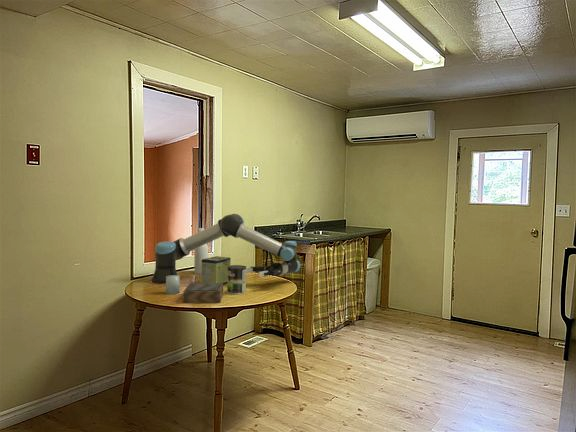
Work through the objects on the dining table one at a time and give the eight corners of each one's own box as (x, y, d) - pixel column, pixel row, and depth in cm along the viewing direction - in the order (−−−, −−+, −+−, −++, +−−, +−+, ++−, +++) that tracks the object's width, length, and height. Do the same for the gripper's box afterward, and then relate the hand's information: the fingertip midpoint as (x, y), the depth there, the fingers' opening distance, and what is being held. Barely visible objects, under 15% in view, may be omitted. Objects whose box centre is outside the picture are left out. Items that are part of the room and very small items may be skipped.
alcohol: (195, 272, 290) (195, 227, 288) (208, 272, 290) (208, 228, 289) (193, 274, 281) (193, 229, 279) (206, 274, 281) (207, 229, 280)
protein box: (230, 282, 257) (231, 257, 257) (215, 287, 243) (216, 260, 243) (216, 281, 262) (216, 255, 261) (200, 285, 248) (201, 259, 247)
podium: (183, 302, 209) (183, 290, 209) (188, 294, 227) (188, 283, 226) (220, 302, 210) (220, 290, 210) (223, 294, 228) (223, 283, 228)
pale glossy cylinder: (164, 294, 225) (164, 277, 225) (167, 291, 232) (167, 275, 232) (178, 294, 226) (178, 277, 225) (180, 291, 233) (180, 275, 232)
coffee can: (234, 295, 226) (234, 268, 226) (223, 291, 234) (223, 266, 233) (249, 292, 233) (250, 266, 233) (238, 289, 241) (239, 264, 240)
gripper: (293, 277, 246) (265, 282, 231) (264, 271, 264) (237, 276, 249) (293, 265, 246) (265, 269, 231) (265, 259, 264) (237, 263, 249)
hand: (251, 272), depth 240 cm, fingers open, 13 cm apart
